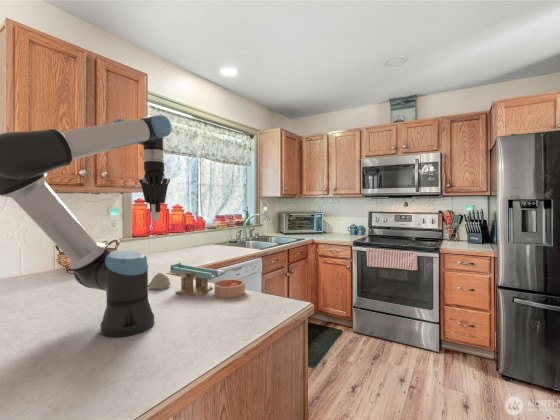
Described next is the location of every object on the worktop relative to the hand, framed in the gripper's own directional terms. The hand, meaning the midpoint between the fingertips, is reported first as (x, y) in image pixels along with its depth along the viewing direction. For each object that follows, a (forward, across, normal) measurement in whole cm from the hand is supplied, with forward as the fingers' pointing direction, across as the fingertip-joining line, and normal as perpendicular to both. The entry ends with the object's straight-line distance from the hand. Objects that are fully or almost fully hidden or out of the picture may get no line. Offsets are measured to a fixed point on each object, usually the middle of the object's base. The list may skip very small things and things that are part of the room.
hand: (155, 220), depth 117 cm
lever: (+25, -8, -19) cm, 32 cm away
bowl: (+32, -25, -15) cm, 44 cm away
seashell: (+33, +12, -18) cm, 39 cm away
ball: (+31, -26, -15) cm, 43 cm away
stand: (+32, -8, -15) cm, 37 cm away
